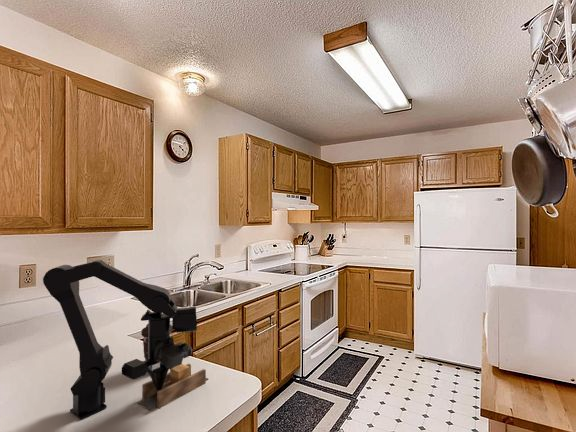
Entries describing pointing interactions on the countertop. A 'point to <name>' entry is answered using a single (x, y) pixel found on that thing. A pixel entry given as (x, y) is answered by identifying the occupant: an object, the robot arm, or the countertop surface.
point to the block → (179, 373)
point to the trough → (170, 389)
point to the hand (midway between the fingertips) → (158, 389)
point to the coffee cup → (145, 335)
